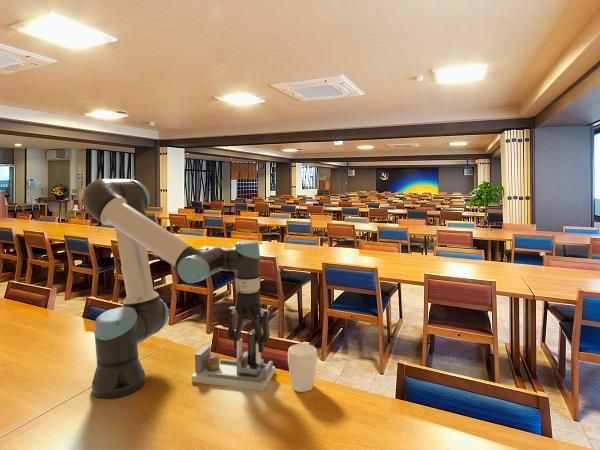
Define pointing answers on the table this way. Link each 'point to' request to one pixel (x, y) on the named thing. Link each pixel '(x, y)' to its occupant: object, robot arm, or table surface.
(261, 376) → the base
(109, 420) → the table surface
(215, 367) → the walnut
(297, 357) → the cup
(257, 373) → the handle
